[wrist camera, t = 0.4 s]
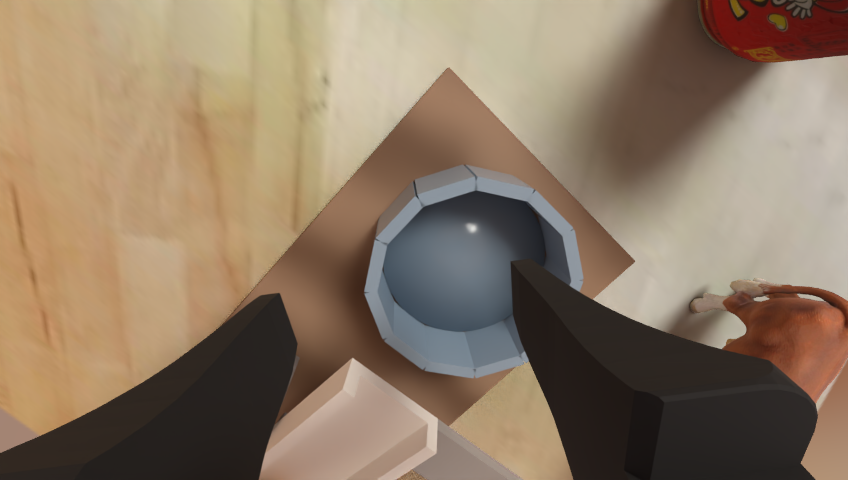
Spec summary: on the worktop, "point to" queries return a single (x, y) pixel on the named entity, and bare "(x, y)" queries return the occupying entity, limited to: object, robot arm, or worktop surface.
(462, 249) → the bowl
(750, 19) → the soda can
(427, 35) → the worktop surface
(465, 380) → the base board
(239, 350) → the robot arm
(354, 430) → the tilted wooden ramp
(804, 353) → the bull figurine
